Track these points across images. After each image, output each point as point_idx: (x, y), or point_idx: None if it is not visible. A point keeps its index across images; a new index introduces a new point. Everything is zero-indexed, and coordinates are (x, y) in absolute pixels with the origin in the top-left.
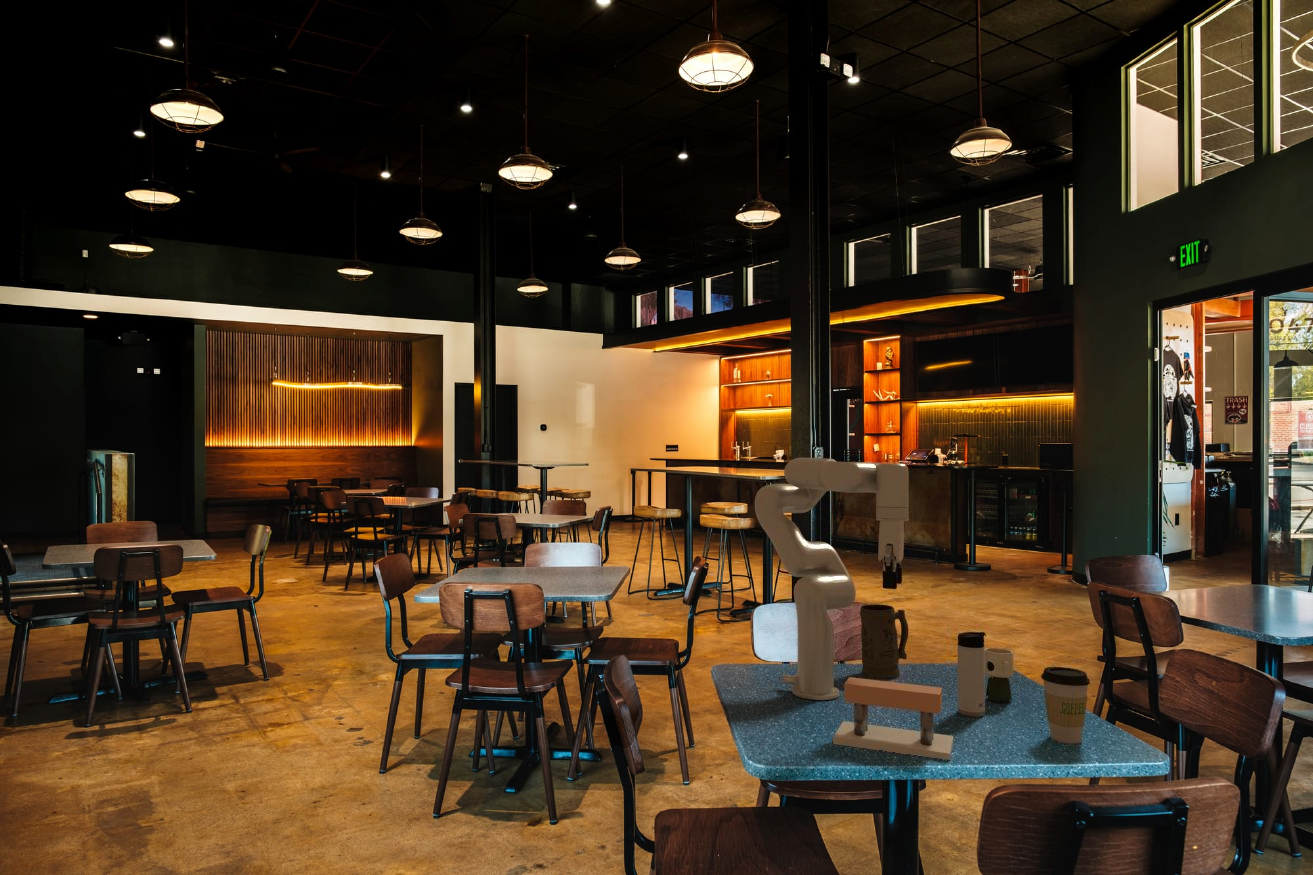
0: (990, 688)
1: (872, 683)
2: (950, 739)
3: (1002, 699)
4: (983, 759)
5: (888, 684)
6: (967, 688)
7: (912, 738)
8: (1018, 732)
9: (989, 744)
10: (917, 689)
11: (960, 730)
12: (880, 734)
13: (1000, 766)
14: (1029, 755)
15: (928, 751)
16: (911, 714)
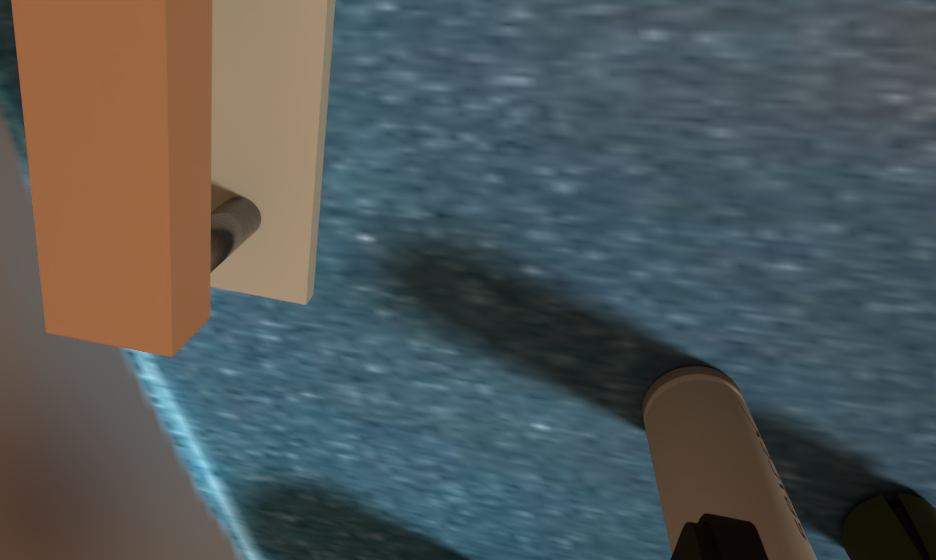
0: (890, 533)
1: (83, 16)
2: (263, 290)
3: (844, 537)
4: (191, 355)
5: (109, 109)
6: (664, 454)
7: (218, 161)
8: (496, 498)
9: (342, 396)
10: (83, 247)
11: (463, 336)
12: (215, 36)
13: (153, 387)
14: (282, 476)
15: None
16: (630, 184)
